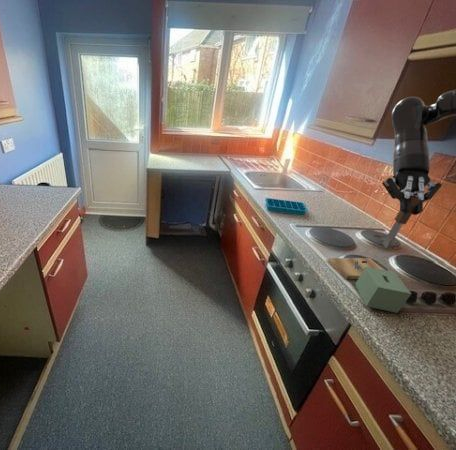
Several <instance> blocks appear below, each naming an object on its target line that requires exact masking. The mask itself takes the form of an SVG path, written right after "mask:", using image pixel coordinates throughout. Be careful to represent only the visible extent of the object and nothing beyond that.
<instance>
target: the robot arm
mask: <svg viewBox="0 0 456 450" xmlns="http://www.w3.org/2000/svg"><path fill="white" fill-rule="evenodd" d="M455 116H456V89H453V90H450V91H449V90H448V91H445V92H443V93H442V94H440V95H439V96H438V97H437V100H436V102H435V103H434V102H433V103H431V104H430V105H426V104H425V102H424V101H423V100H422V98H420V97H418V96H407V97H404V98H403V99H400V100H399V101H398V102H396V104H395V105H394V107H393V108H392V111H391V122H392V123H391V124H392V127H393V132H394V147H393V148H394V150H393V154H392V155H393V156H392V174H393V176H392V177H388V178H386V179H385V180H384V181H382V185H383V187H384V188H385V190H386V191H387V193H388V195H389V196H390V197H391V199H392V200H398V201H399V211H400V210H401V211H402V213H405V214H406V213H408V212H410V199H409V197H410V196H416V197H418V198H419V199H421V200H420V202H419V203H418V205H417V207H416V208H415V210H414V211H413V213H412V215H413V216H417V215H420V214H421V213H422V212H423V211H424V209H423V208H424V203H425V202H427V201H429V200H431V199H432V198H433V197H434V196H435V195H436V193H438V191H439V190H440V188H441V187H442V183H441V182H437V183H435V182H434V181H431V177H430V176H429V173H430V148H429V145H428V131H427V128H426V126H428V125H431V124H434V123H436V122H439V121H442V120H443V119H446V118H449V117H455ZM425 187H426V188H425Z"/></svg>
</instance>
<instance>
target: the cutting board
mask: <svg viewBox="0 0 456 450" xmlns="http://www.w3.org/2000/svg"><path fill="white" fill-rule="evenodd" d="M357 261H358V266H360V267H361V269H360V268H359V270H358V269H357V268H356V269H355V262H357ZM362 261H367V263H362ZM327 262H328V263H329V264H330V265H331V266H332V267H333V268H334V269H335V270H336V271H337V272H338V273H339V274H340V275H341V276H342V277H343V278H345V280H358V278H359V277H360V275H361V273H362V271H363V270H362V269H364V268H365V267H370V268H376V269H381V270H385V269H384V268H383V267H382V266H380V265H379V264H377V263H376V261H374V260H373V259H371V258H370V257H348V258H347V257H329V258H328V261H327Z"/></svg>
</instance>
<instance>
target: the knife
mask: <svg viewBox="0 0 456 450" xmlns="http://www.w3.org/2000/svg"><path fill="white" fill-rule="evenodd" d="M409 199H410V212H408V213H406V214H405V213H402V211H401V210H400V209H399V211H398V212H397V214H396V216H395V218H394V220H395V222H394V223H393V225H392V227H391V228H390V230H389V232H388V234H387V235H386V237H385V239H384V240H383V241H382V246H383V247H384V248H385V249H388V250H389V248H390V246H391V245H392V243H393V241H394V240H395V239H396V237H397V235H398V234H399V232H400V230H401V229H402V227H403V225H406V224H407V223H408V221H409V220H410V218H411V217H412V215H413V214H412V213H413V211H414V210H415V208H416V207H417V205H418V203H419V202H420V200H421V199H419V198H418V197H416V196H410V197H409Z"/></svg>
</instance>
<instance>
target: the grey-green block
mask: <svg viewBox="0 0 456 450" xmlns="http://www.w3.org/2000/svg"><path fill="white" fill-rule="evenodd" d="M354 286H355V288H356V290H357V291H358V293H359V295H360V297H361V299H362V300H363V303H364V304H365V307H368V308H372V309H377V310H382V311H386V312H391V313H395V314H398V313H399V312H400V310H401V309H402V307H403V306H404V305H405V304H406V302H407V301H408V300H409V298H410V296H411V295H412V292H411V290H409V289H408V287H407V286H406V284H405V283H404V282H403V281H402V280H401V278H400V277H399V276H398V274H397V273H396V272H395V271H392V270H386V269H384V270H381V269H376V268H370V267H365V268H364V269H363V271H362V273H361V275H360V277H359V278H358V279H356V282H355V284H354Z"/></svg>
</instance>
